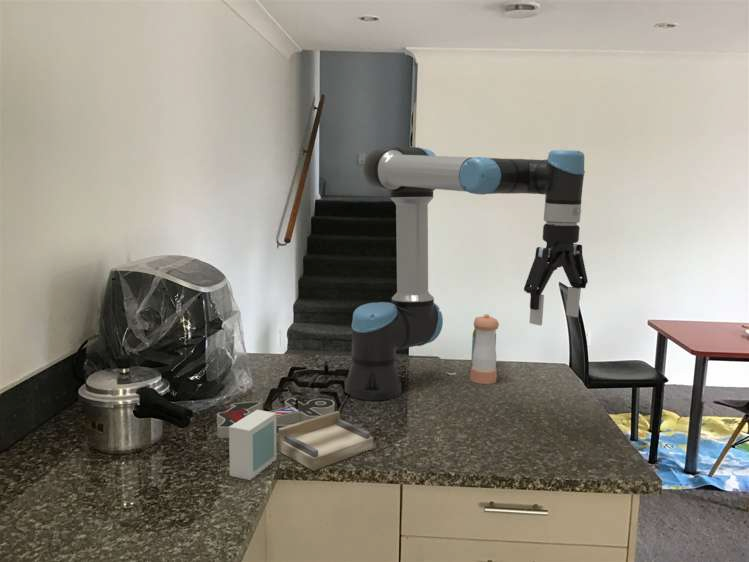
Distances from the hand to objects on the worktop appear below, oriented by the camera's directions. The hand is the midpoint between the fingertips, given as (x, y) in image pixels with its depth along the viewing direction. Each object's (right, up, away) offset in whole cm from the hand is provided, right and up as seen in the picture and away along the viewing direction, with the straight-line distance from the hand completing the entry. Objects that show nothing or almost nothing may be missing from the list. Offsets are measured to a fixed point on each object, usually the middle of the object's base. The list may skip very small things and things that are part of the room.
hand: (554, 320), depth 146 cm
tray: (-50, -27, -5) cm, 57 cm away
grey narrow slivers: (-7, -18, +56) cm, 59 cm away
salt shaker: (-9, -20, +44) cm, 49 cm away
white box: (-64, -28, -14) cm, 71 cm away
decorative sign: (-62, -25, +9) cm, 68 cm away
